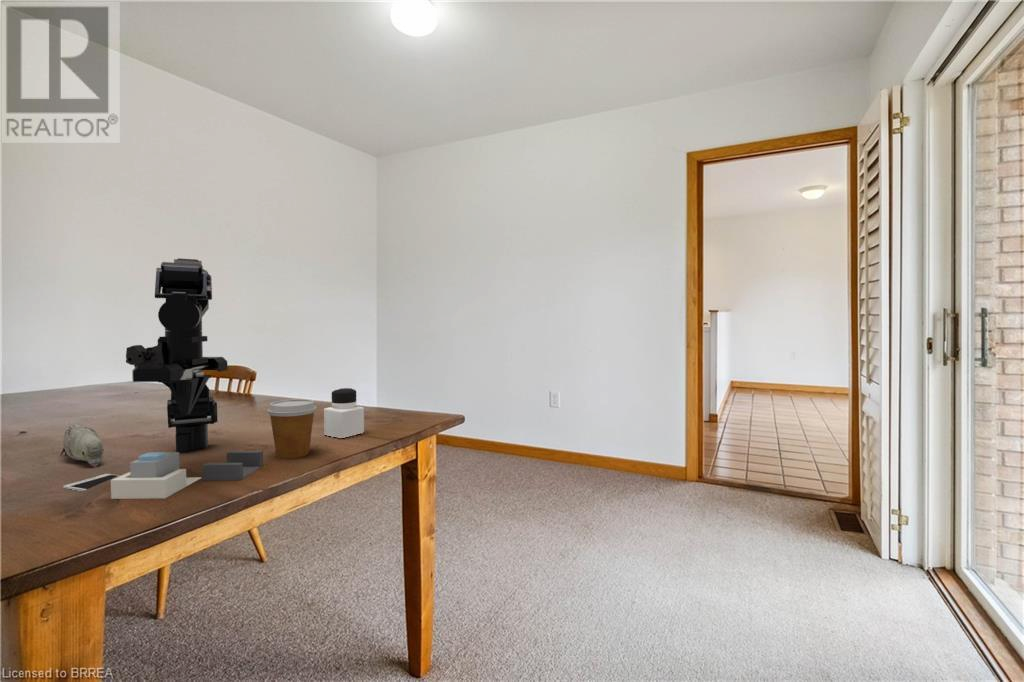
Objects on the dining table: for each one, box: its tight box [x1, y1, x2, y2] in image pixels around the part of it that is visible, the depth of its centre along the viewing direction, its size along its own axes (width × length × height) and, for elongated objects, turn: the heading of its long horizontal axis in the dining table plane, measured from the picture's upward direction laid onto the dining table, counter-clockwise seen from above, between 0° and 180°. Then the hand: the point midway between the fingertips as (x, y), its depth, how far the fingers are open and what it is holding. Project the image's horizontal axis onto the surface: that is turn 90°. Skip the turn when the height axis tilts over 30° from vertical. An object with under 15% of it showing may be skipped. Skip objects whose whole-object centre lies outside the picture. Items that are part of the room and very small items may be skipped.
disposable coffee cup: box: [267, 398, 317, 459], centre depth 102 cm, size 10×10×12 cm
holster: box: [202, 450, 264, 481], centre depth 90 cm, size 9×6×4 cm
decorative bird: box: [59, 420, 105, 468], centre depth 99 cm, size 5×16×8 cm, turn 55°
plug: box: [129, 451, 180, 478], centre depth 81 cm, size 6×4×6 cm, turn 3°
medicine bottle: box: [323, 387, 365, 439], centre depth 123 cm, size 7×7×12 cm
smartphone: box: [62, 473, 121, 492], centre depth 84 cm, size 7×16×1 cm, turn 73°
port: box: [110, 468, 203, 500], centre depth 82 cm, size 10×8×4 cm
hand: (185, 414), depth 89 cm, fingers closed
